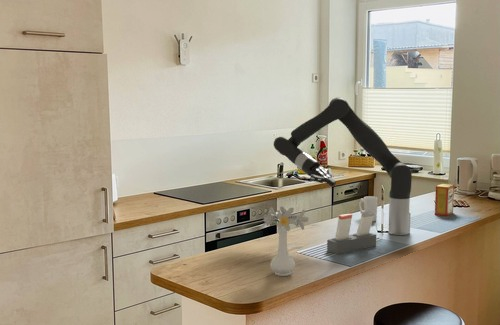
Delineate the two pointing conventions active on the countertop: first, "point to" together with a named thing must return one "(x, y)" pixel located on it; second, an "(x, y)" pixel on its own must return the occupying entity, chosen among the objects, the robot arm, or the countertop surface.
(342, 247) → the gray rectangular block
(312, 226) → the countertop surface
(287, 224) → the flower vase
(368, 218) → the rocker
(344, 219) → the panel
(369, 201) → the mug
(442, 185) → the baking soda box
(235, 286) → the countertop surface
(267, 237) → the countertop surface
